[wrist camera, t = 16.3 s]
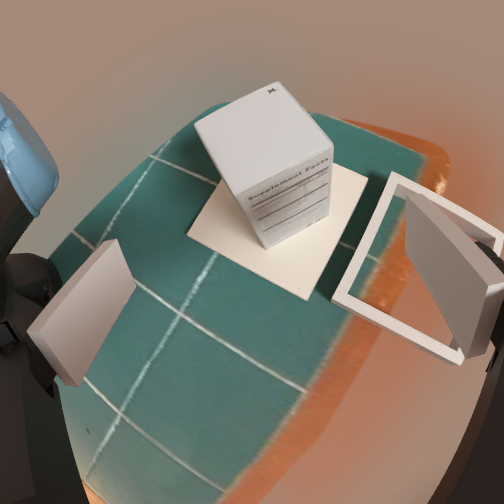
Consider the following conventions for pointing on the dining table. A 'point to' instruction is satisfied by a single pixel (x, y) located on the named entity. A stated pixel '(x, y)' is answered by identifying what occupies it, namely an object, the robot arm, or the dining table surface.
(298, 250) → the cream coaster
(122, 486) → the dining table surface
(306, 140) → the supplement box
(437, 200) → the white square frame
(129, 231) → the dining table surface
